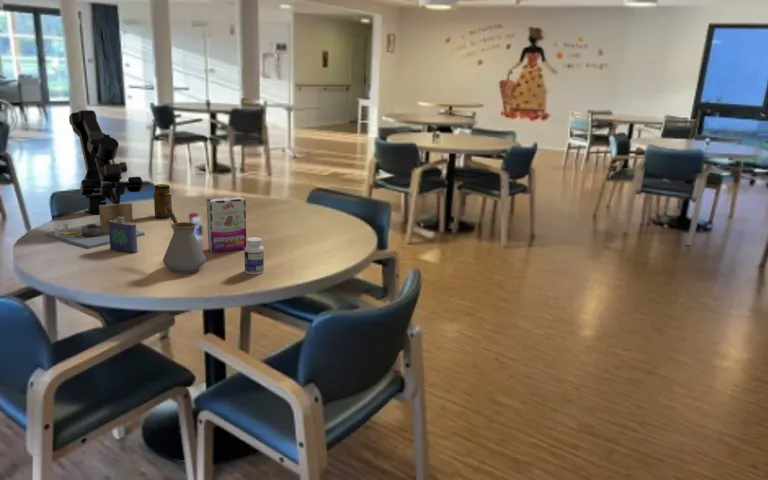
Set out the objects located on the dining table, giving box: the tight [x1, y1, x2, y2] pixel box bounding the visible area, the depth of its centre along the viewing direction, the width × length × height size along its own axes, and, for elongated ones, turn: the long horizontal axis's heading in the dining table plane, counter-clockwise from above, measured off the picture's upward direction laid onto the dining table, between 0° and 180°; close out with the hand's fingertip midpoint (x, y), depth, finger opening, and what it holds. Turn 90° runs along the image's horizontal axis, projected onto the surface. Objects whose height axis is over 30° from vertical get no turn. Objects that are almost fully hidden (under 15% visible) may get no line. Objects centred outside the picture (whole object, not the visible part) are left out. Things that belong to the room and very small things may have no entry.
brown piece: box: [64, 202, 134, 236], centre depth 187 cm, size 20×6×9 cm, turn 128°
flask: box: [109, 217, 139, 254], centre depth 175 cm, size 9×3×11 cm, turn 74°
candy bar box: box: [206, 196, 247, 254], centre depth 182 cm, size 11×5×16 cm, turn 122°
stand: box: [45, 221, 145, 249], centre depth 189 cm, size 22×20×3 cm
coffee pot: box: [162, 206, 207, 274], centre depth 166 cm, size 21×12×15 cm, turn 34°
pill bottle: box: [244, 236, 265, 275], centre depth 164 cm, size 5×5×10 cm
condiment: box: [150, 183, 178, 221], centre depth 215 cm, size 7×8×12 cm
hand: (117, 206), depth 193 cm, fingers closed
